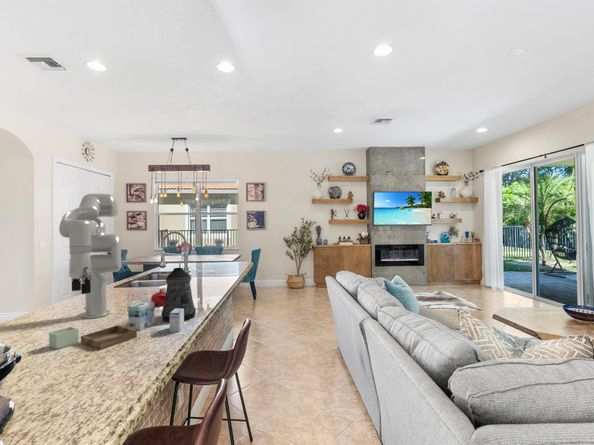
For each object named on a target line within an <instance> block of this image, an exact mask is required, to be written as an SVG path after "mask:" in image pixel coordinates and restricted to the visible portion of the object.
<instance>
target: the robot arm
mask: <svg viewBox="0 0 594 445" xmlns="http://www.w3.org/2000/svg"><path fill="white" fill-rule="evenodd" d="M118 213H119V205H118V203H117V200H116V198H115V197H114V195H112V194H110V193H88V194H85V195H84V196H82V198H81V201H80V203H79V206H78V207H77V208H74V209H72V210H70V211H68V212H66V213H65V214H63V216H62V218H61V220H60V223H59V226H58V229H59V230H58V231H59V233H60V236H62V237H64V238H69V239H68V240H69V244H68V245H69V246H68V247H69V255H70V256H69V268H68V270H69V271H68V275H69V277H70V278H71V291H72V292H77V291H81V294H82V295H84V296H85V297H84V298H85V307H84V308H83V309H84V310H85V312H84V313H82V316H81V317H82V319H98V318H103V317H107V316H108V315H110V314H111V310H109V309H108V307H107V306H108V305H107V304H108V302H107V301H108V300H107V299H108V298H107V292H108V291H107V289H108V288H107V280H106V278H105V277H104V276H103V275H102V274H103V273H104V274H106V273H116V272H119V271H120V270H121V268H122V240H121V237H120V235H119V234H114V233H106V225H105V223H104V221H102V219H100V218H114V217H116V216H117V215H118ZM92 253H111V254H93V255H91V254H92Z"/></svg>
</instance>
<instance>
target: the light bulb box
mask: <svg viewBox="0 0 594 445" xmlns="http://www.w3.org/2000/svg"><path fill="white" fill-rule="evenodd" d="M127 307H128V308H127V312H128V313H127V316H128V319H127V320H128V328H130V329H134V330H137V331H142V330H145V329H146V328H148V327H150V326H152V325H155V306H154V302H151V300H150V301H149V300H148V301H147V300H141V301H140V302H136V303H134V304H131V305H128V306H127Z"/></svg>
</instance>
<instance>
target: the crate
mask: <svg viewBox="0 0 594 445" xmlns="http://www.w3.org/2000/svg"><path fill="white" fill-rule="evenodd" d="M137 337H138V330H134V329H130V328H129V327H126V326H122V325H118V324H117V325H114V326H110V327H107V328H104V329H100V330H97V331H94V332H90V333H87V334H83V335H80V344H81V345H84V346H86V347H87V346H88V347H90V348H93V349H95V350H99V351H100V350H101V351H102V350H104V349H107V348H110V347H113V346H115V345H119V344H122V343H124V342H127V341H130V340H132V339H136V338H137Z"/></svg>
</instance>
